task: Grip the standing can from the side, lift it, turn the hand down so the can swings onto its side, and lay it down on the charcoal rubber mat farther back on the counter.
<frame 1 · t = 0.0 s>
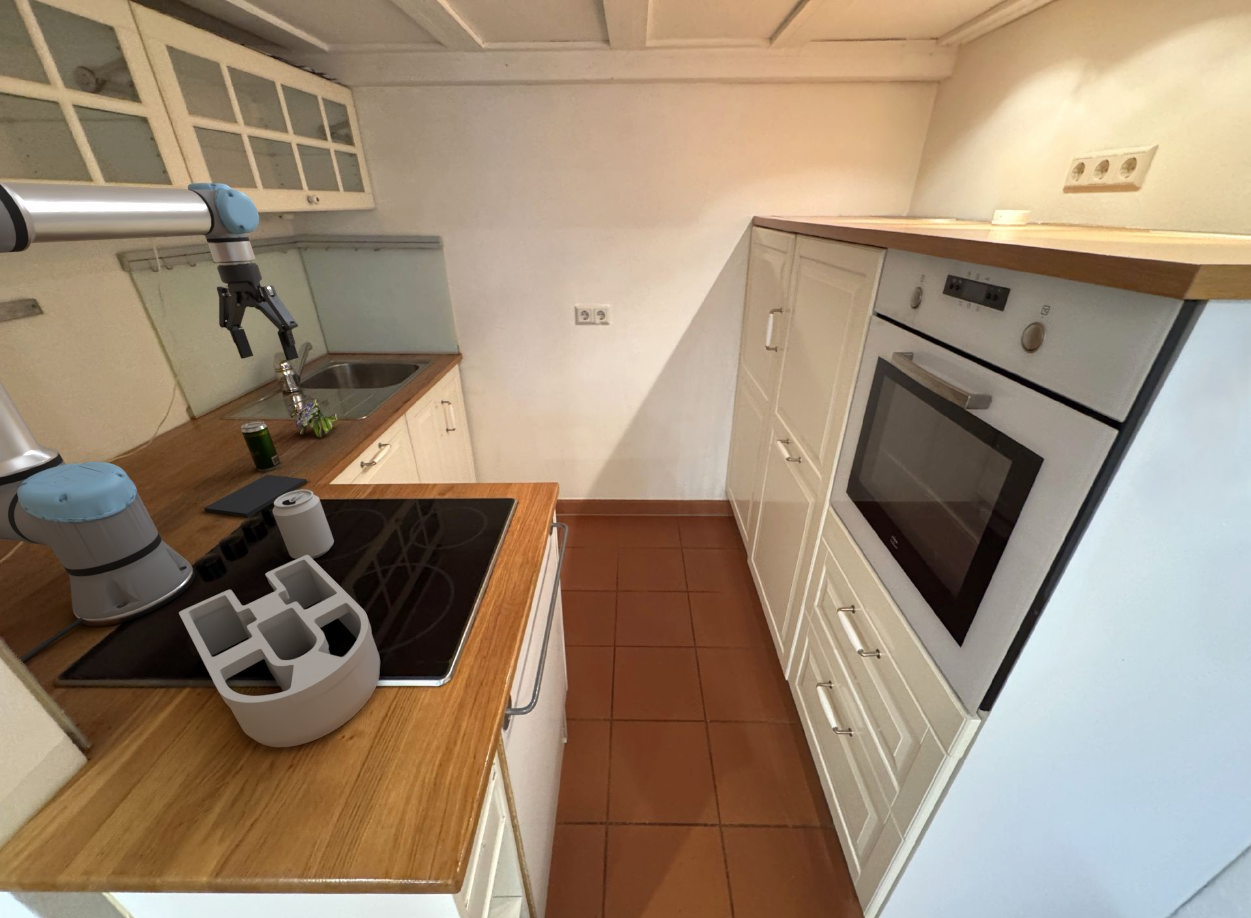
hand: (269, 358, 119), 28 cm above the worktop, tool pointing down, fingers open, 13 cm apart
beer can: (269, 468, 130), on the worktop
purple flowering plant: (319, 432, 151), on the worktop
mat: (258, 496, 116), on the worktop
can: (313, 551, 96), on the worktop
desk organizer caddy: (301, 671, 70), on the worktop
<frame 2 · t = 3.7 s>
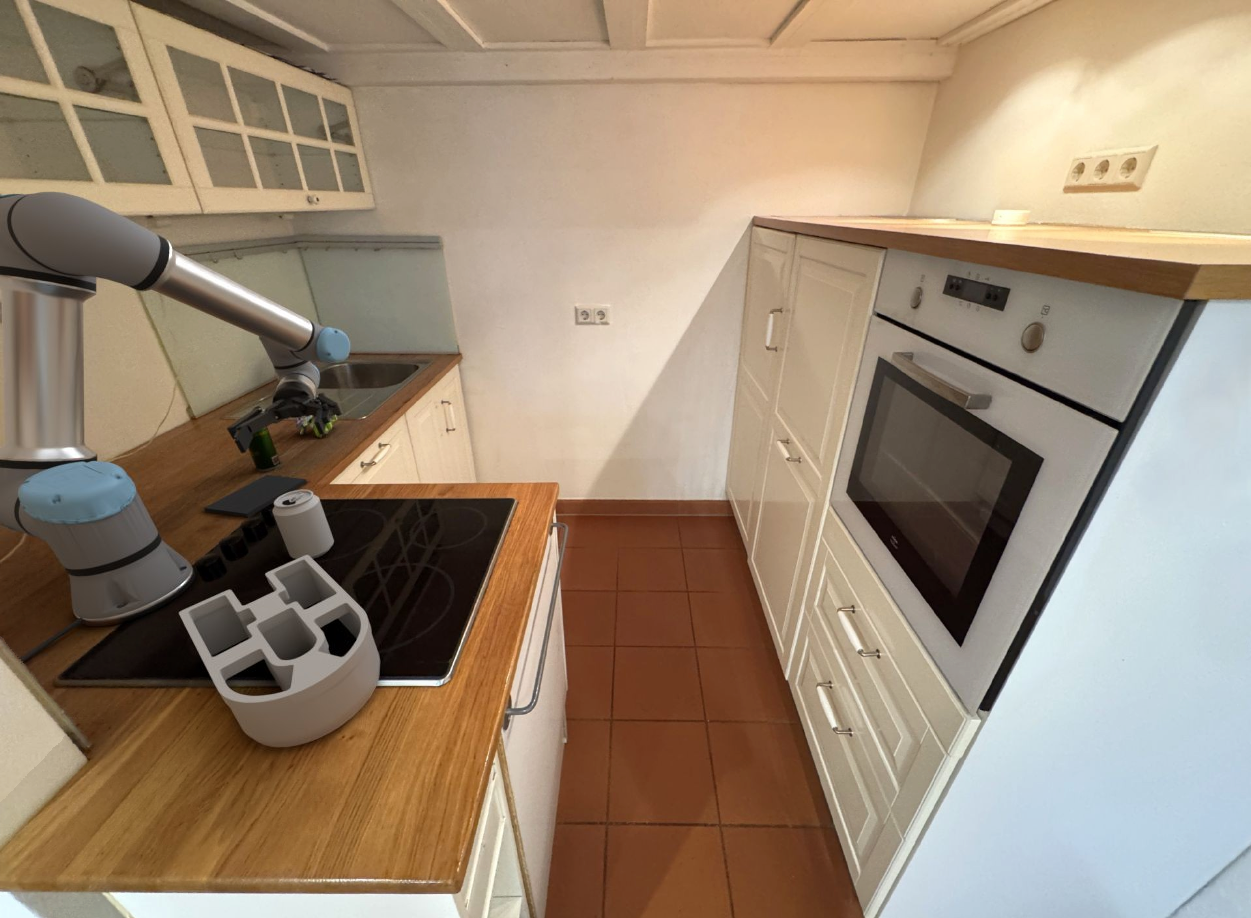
hand: (280, 437, 96), 20 cm above the worktop, tool horizontal, fingers open, 13 cm apart
nothing on the worktop moved.
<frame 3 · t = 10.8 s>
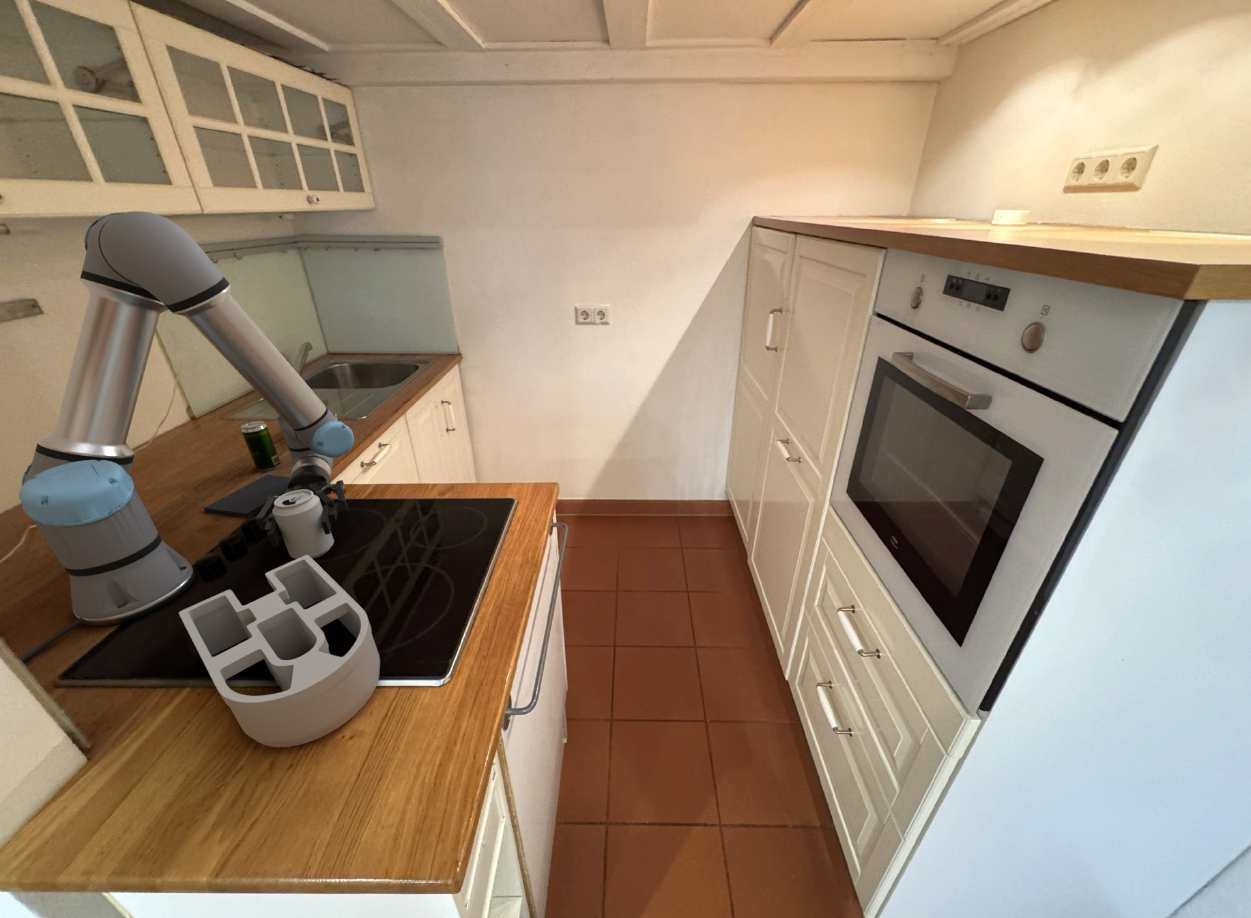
hand: (299, 534, 89), 7 cm above the worktop, tool horizontal, fingers closed on can, 7 cm apart
can: (313, 551, 96), on the worktop, touching gripper
everything else where it was.
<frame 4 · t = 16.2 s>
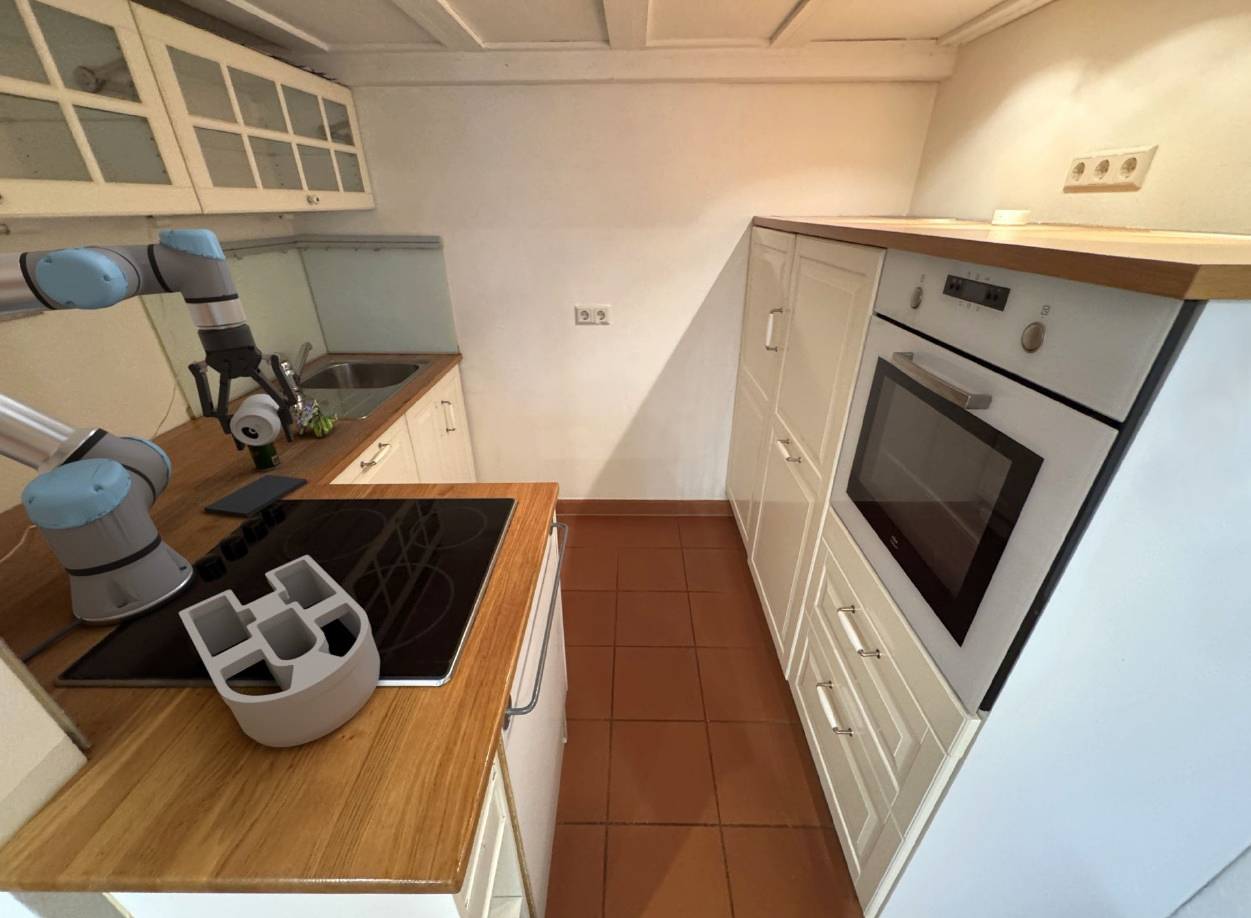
hand: (266, 443, 98), 18 cm above the worktop, tool pointing down, fingers closed on can, 7 cm apart
can: (264, 410, 101), point 23 cm above the worktop, touching gripper
everything else where it was.
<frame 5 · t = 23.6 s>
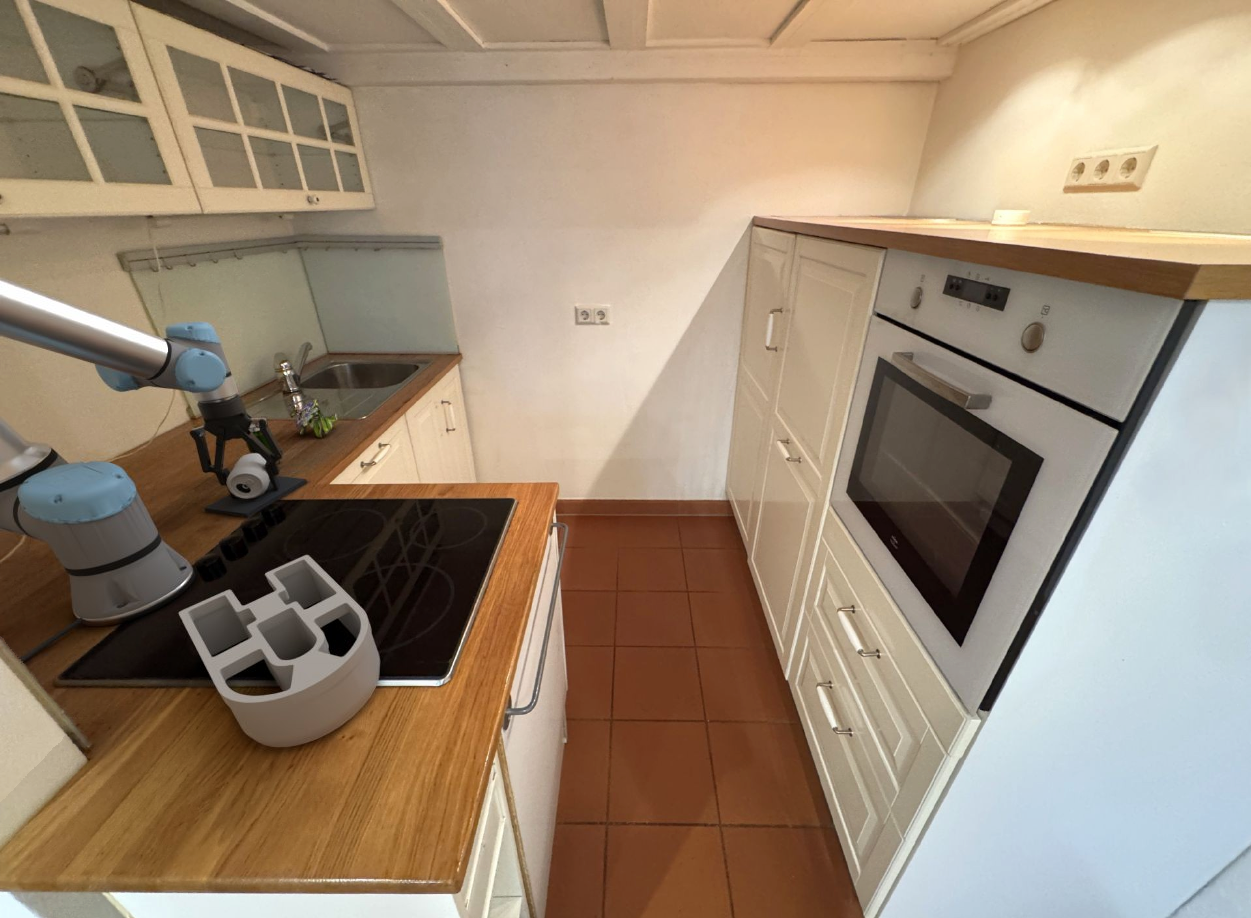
hand: (256, 491, 115), 1 cm above the worktop, tool pointing down, fingers closed on can, 7 cm apart
can: (256, 466, 120), point 5 cm above the worktop, touching gripper
everything else where it was.
when the fingers open (4 cm above the worktop, at t = 37.4 s): can drops 2 cm, resting on mat.
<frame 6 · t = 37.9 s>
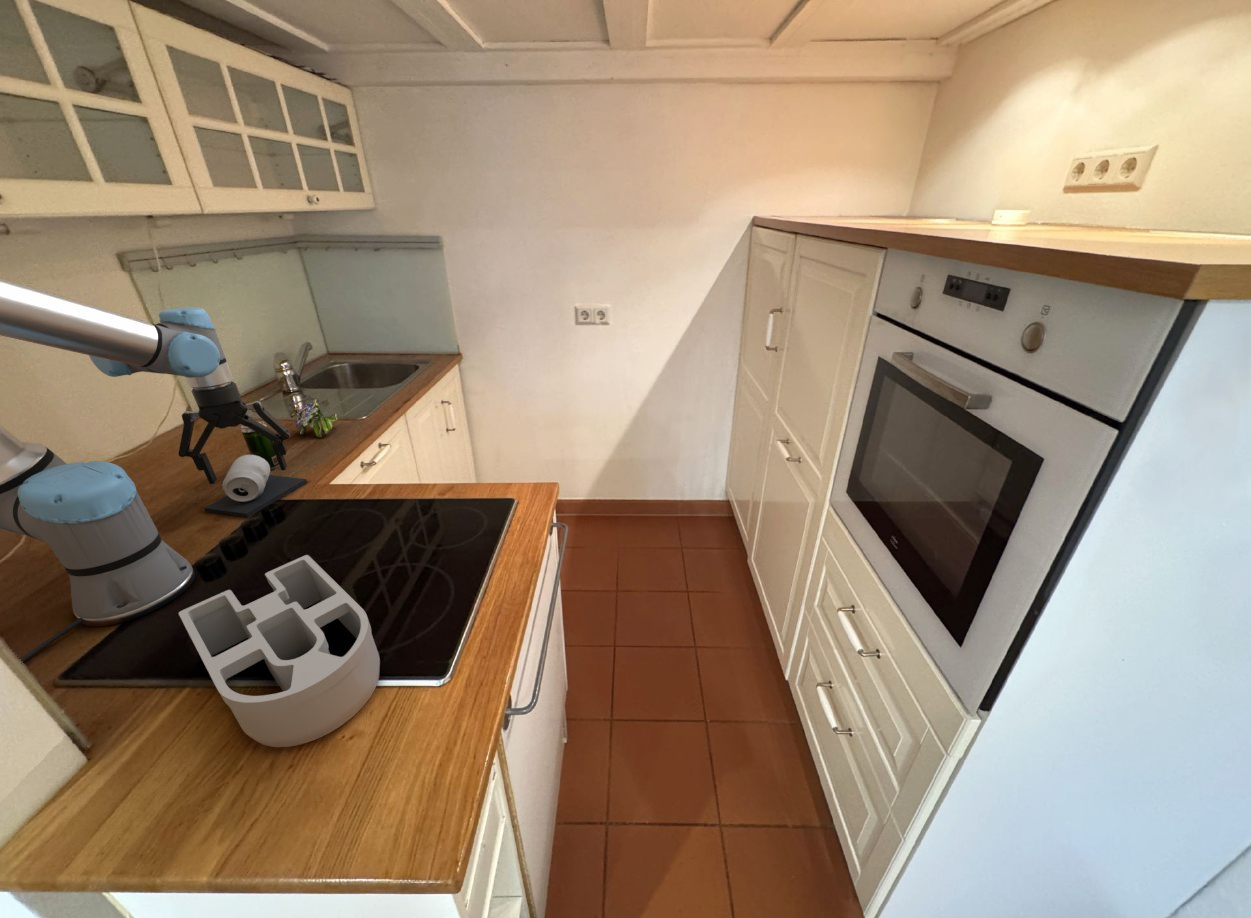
hand: (249, 474, 113), 6 cm above the worktop, tool pointing down, fingers open, 13 cm apart
can: (252, 467, 119), point 5 cm above the worktop, touching mat
everything else where it was.
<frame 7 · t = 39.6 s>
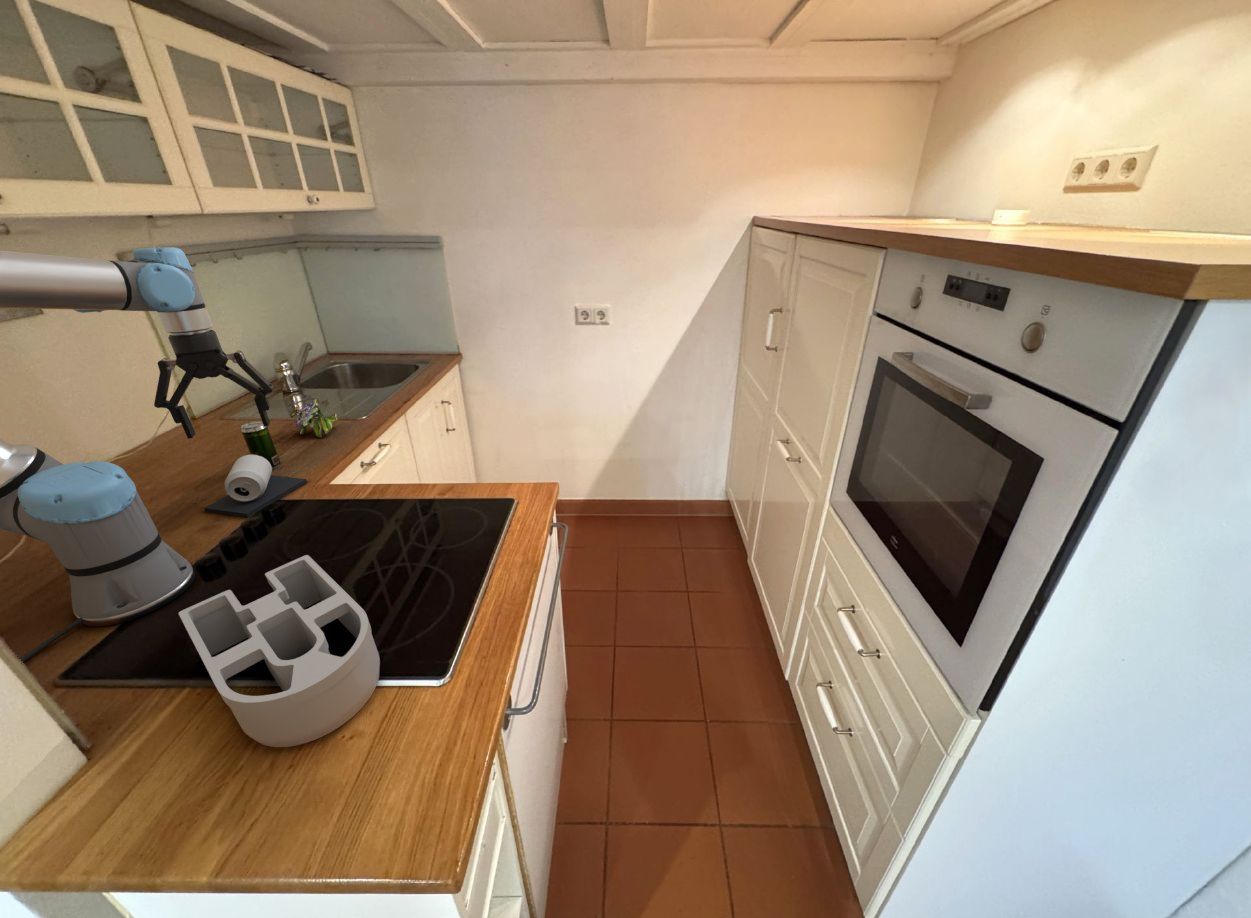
hand: (230, 430, 108), 17 cm above the worktop, tool pointing down, fingers open, 13 cm apart
nothing on the worktop moved.
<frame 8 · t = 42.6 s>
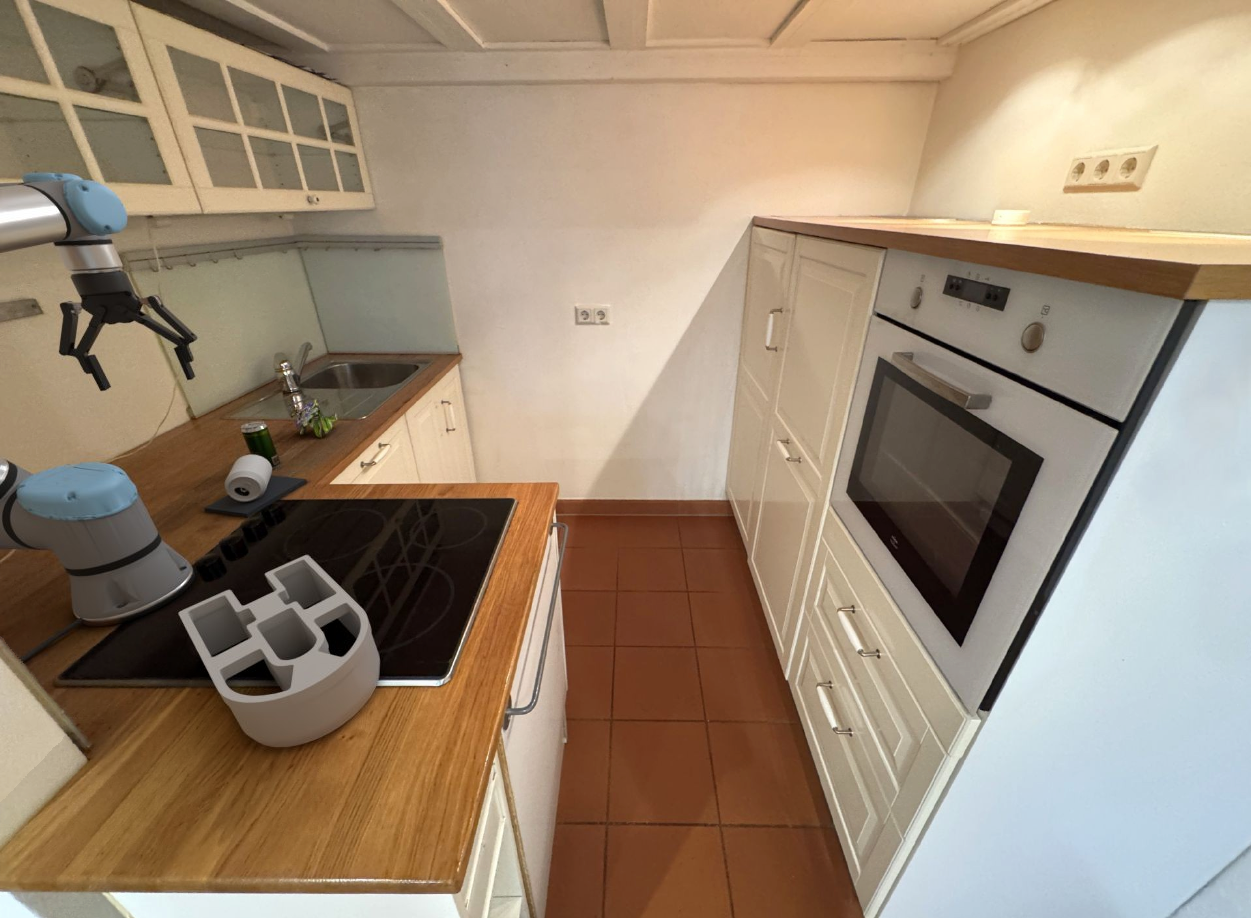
hand: (149, 383, 100), 29 cm above the worktop, tool pointing down, fingers open, 13 cm apart
nothing on the worktop moved.
at the end: can tilted 90°; can inside the target area on the mat (6.8 cm from its centre), point 4.7 cm above the mat's base; the gripper is holding nothing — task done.
